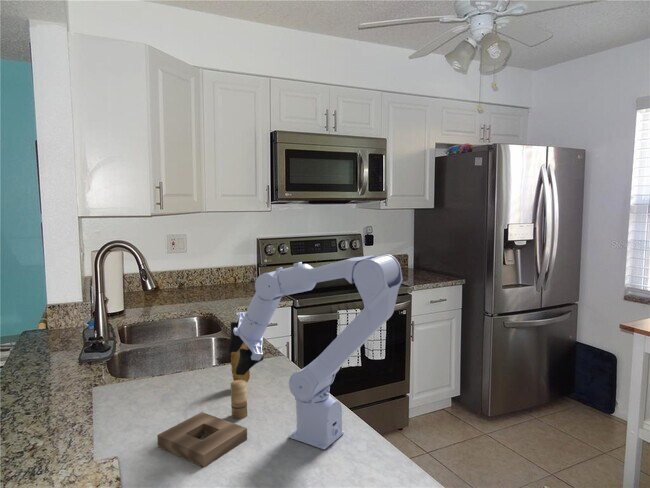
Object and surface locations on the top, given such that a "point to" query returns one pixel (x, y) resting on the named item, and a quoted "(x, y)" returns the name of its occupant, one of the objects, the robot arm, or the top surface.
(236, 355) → the stone tool
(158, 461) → the top surface
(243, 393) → the dowel
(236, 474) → the top surface
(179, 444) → the board
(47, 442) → the top surface
